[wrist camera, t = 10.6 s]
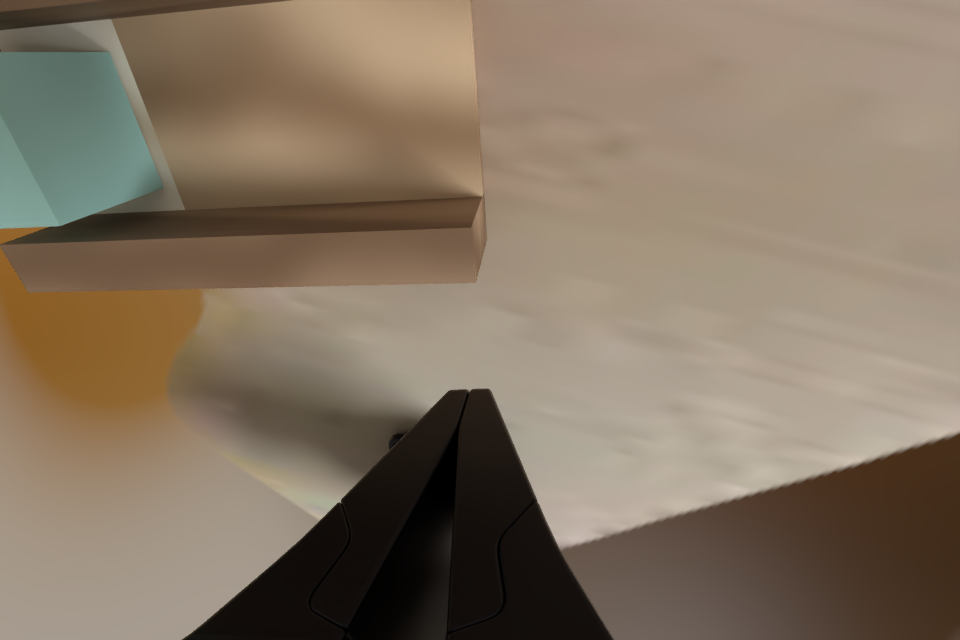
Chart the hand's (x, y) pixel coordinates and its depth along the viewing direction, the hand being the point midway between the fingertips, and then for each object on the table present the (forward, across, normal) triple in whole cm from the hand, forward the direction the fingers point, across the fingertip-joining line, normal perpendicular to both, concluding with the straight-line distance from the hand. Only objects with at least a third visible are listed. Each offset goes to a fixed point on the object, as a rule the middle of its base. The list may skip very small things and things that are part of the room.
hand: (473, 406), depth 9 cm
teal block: (+11, +16, -6) cm, 21 cm away
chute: (+12, +10, -5) cm, 16 cm away
